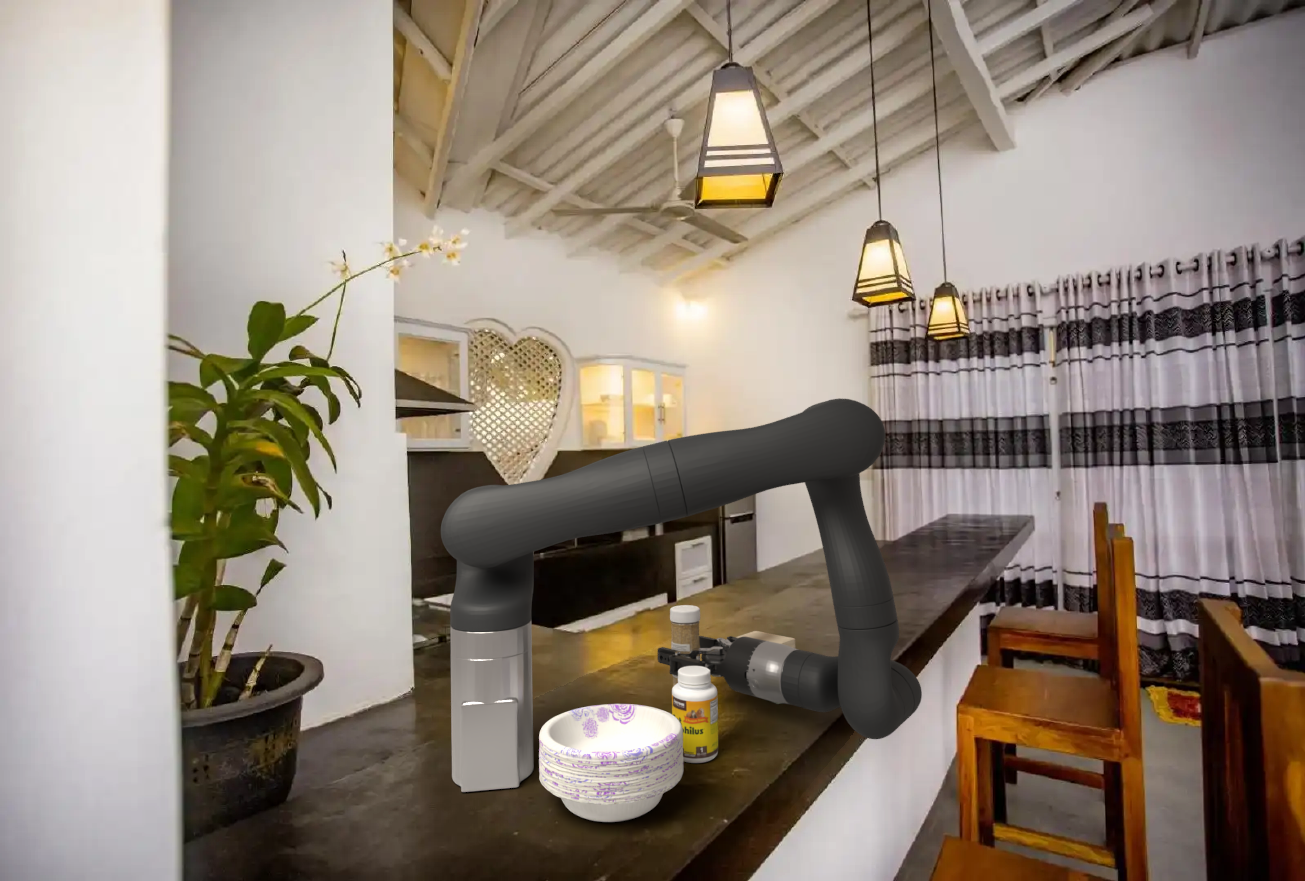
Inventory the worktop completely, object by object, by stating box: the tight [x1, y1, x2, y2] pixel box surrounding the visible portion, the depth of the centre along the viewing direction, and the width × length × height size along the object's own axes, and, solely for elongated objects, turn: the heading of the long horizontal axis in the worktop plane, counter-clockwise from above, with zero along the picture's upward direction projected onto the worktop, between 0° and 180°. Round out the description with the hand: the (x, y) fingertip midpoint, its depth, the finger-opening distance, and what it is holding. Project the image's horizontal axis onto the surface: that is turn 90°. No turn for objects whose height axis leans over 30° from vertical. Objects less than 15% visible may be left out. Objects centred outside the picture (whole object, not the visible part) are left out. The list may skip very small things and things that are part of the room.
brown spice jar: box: [669, 604, 701, 688], centre depth 103 cm, size 5×5×13 cm
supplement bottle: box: [671, 666, 719, 764], centre depth 83 cm, size 6×6×10 cm
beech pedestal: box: [735, 630, 796, 649], centre depth 112 cm, size 8×8×6 cm
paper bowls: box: [538, 703, 684, 823], centre depth 72 cm, size 15×15×8 cm
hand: (678, 648), depth 104 cm, fingers open, 8 cm apart
